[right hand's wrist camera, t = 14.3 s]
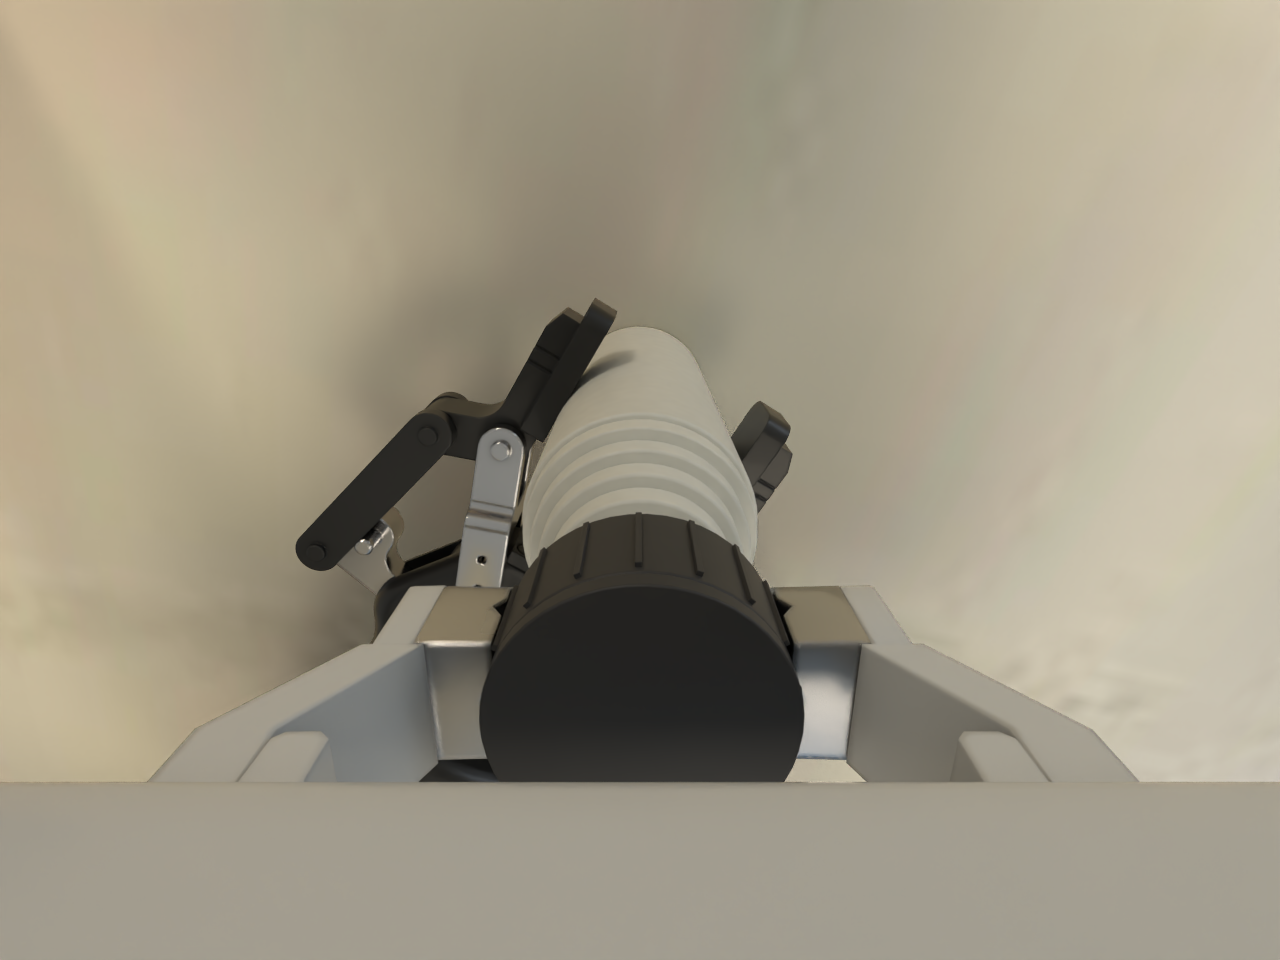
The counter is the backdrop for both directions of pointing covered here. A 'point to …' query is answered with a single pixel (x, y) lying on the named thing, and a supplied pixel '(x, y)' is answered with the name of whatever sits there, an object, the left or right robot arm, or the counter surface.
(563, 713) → the cap
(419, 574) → the left robot arm
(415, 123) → the counter surface
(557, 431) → the bottle
